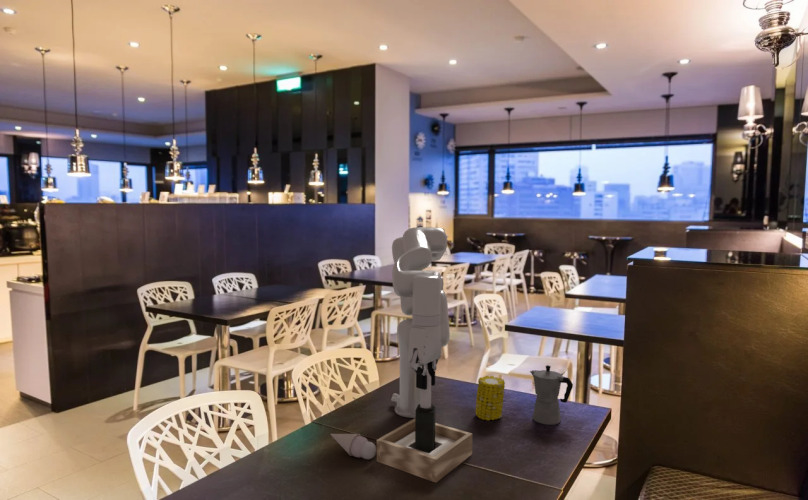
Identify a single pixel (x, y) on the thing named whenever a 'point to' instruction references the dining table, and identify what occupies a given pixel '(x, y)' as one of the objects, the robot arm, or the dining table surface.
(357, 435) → the ice cream cone
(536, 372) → the coffeepot
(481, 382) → the food
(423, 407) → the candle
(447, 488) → the dining table surface
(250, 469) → the dining table surface
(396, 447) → the box
